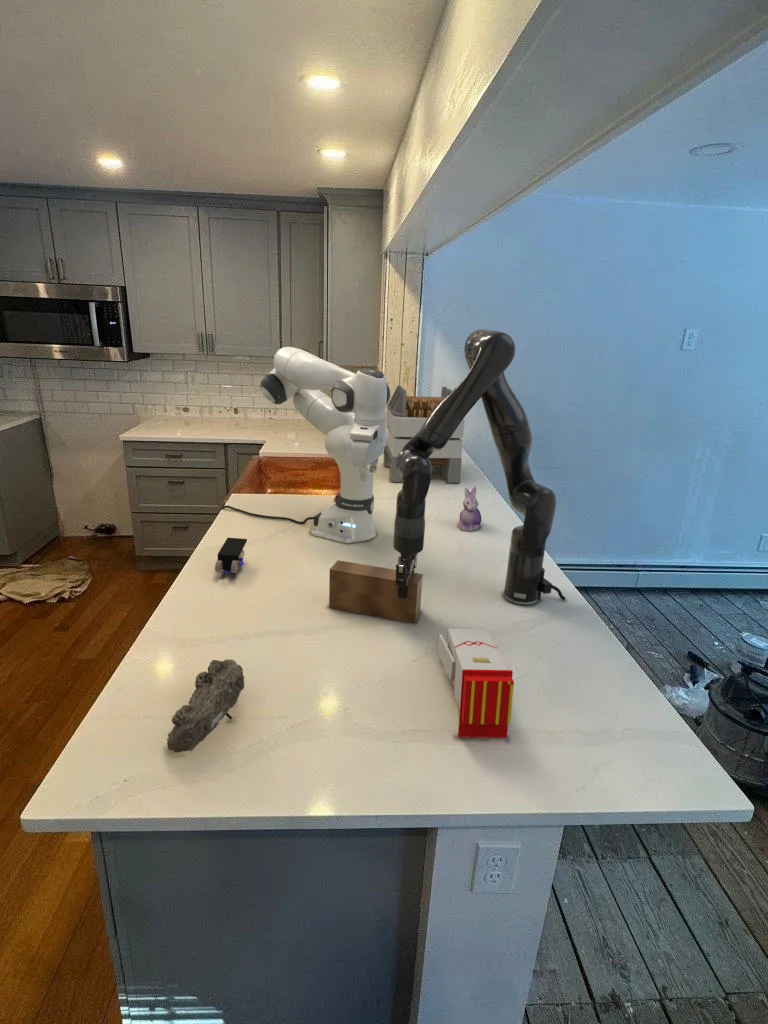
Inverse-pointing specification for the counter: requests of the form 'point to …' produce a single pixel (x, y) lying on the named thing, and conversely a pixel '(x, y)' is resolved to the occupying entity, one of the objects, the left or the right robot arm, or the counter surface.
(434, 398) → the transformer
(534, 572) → the right robot arm
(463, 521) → the figurine
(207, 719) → the fossil
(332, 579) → the box
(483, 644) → the toy
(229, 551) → the black toy vehicle
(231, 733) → the counter surface
